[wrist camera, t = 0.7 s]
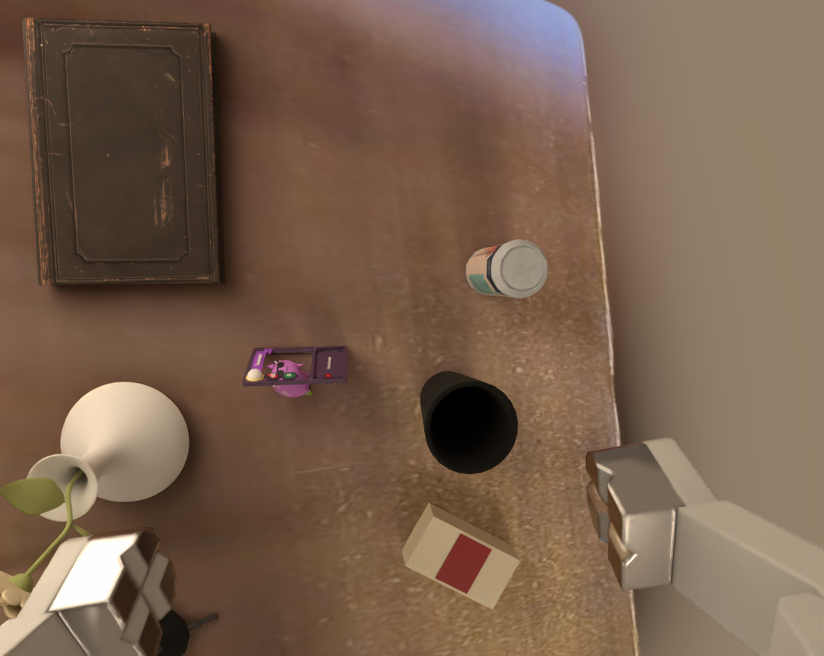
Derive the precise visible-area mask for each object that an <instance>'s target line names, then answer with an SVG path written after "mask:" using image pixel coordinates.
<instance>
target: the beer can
mask: <svg viewBox="0 0 824 656" xmlns="http://www.w3.org/2000/svg"><path fill="white" fill-rule="evenodd" d="M547 274H548V262H547V259H546V256H545V254H544V253H543V251H542V250H541V248H539V247H538V246H537V245H536V244H534V243H532V242H530V241H527V240H523V239H519V240H512V241H510V242H507V243H504V244H501V245H497V246H493V247H486V248H482V249H480V250H478V251H476V252H475V253H474V254H473V255H472V256H471V257H470V258H469V260H468V262H467V265H466V278H467V281H468V283H469V285H470V286H471V287H472V288H473V289H474V290H475V291H476V292H478V293H480V294H483V295H488V296H498V297H509V298H526V297H528V296H531V295H533V294H535V293H536V292H538V291H539V290H540V289H541V287H542V286H543V285H544V283H545V281H546V278H547Z"/></svg>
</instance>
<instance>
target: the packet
mask: <svg viewBox="0 0 824 656" xmlns="http://www.w3.org/2000/svg"><path fill="white" fill-rule="evenodd" d="M402 552H403V557H404V562H405V566H406V567H408V568H410V569H412V570H414V571H416V572H418V573H420V574H422V575H424V576H426V577H428V578H430V579H432V580H434V581H436V582H438V583H440V584H442V585H444V586H446V587H448V588H450V589H452V590H454V591H456V592H458V593H460V594H462V595H464V596H466V597H468V598H470V599H472V600H474V601H476V602H478V603H480V604H482V605H484V606H486V607H488V608H490V609H493V608H494V607H495V605H496V603H497V601H498V600H499V598H500V596H501V594H502V593H503V591H504V589H505V587H506V585H507V584H508V582H509V580H510V578H511V577H512V575H513V573H514V571H515V570H516V568H517V566H518V564H519V563H520V559H519V558H518V556H517V554H516V553H515V551H514V549H513V548H512V546H511V545H510V544H508V543H507V542H505V541H503V540H501V539H499V538H497V537H495V536H493V535H491V534H489V533H487V532H485V531H483V530H481V529H479V528H478V527H476V526H474V525H472V524H470V523H468V522H466V521H464V520H462V519H460V518H458V517H456V516H454V515H452V514H450V513H449V512H447V511H445V510H443V509H441V508H439V507H437V506H435V505H433V504H431V503H428V504H427V506H426V508H425V510H424V511H423V513H422V515H421V517H420V518H419V520H418V522H417V524H416V525H415V527H414V529H413V531H412V532H411V534H410V536H409V538H408V540H407V541H406V543H405V545H404V547H403V548H402Z"/></svg>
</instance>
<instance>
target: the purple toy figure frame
mask: <svg viewBox="0 0 824 656" xmlns="http://www.w3.org/2000/svg"><path fill="white" fill-rule="evenodd" d="M300 352H313V356H312V364H311V373H308V372H307V373H306V372H303V371H302V370H301V369H300V367H301V366H302V365H303V364H296V363H294V362H292V361H289V360H284V361H280V360H279V362H276V361H274V362H275V363H276V364H275V365H274V364H271V365H268V366H266V367H269V368H272V369H273V370H272V372H271V373H269V374H267V375H266V376H264V374H262V366H263V362H264V358H265V355H267V354H270V353H300ZM309 375H310V379H308V376H309ZM263 378H265V380H263V381H260V380H261V379H263ZM346 382H347V347H346V346H332V347H295V348H258V349H253V352H252V355H251V358H250V361H249V364H248V367H247V370H246V373H245V376H244V379H243V386H272V387H273V388H274V389H275V390H276V391H277V392H278V393H279V394H281V395H283V396H286V397H299V396H302V395H304V394H306V395H307V394H308V395H311V394H312V391H311V390H310V389H309V385H310V384H331V383H346Z"/></svg>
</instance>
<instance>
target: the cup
mask: <svg viewBox="0 0 824 656" xmlns="http://www.w3.org/2000/svg"><path fill="white" fill-rule="evenodd" d="M420 402H421V410H422V417H423V424H424V431H425V437H426V441H427V445H428V447H429V449H430V451H431V453H432V455H433V456H434V457H435V458H436V459H437V461H438V462H439V463H441V464H442V465H443V466H445V467H446V468H448V469H450V470H452V471H455V472H458V473H464V474H475V473H482V472H484V471H487V470H490V469H492V468H494V467H495V466H496V465H498V464H499V463H501V462H502V461H503V460H504V459H505V458H506V456H507V455H508V454H509V453H510V451H511V449H512V447H513V446H514V443H515V440H516V436H517V430H518V421H517V416H516V411H515V409H514V407H513V405H512V403H511V401H510V400H509V399H508V397H507V396H506V395H505V394H504V393H503V392H502V391H500V390H499V389H498V388H496V387H495V386H493V385H490V384H487V383H485V382H482V381H479V380H476V379H473V378H470V377H467V376H464V375H461V374H459V373H456V372H449V371H447V372H441V373H438V374H435V375H434V376H432V377H431V378H430V379H429V380H428V381H427V382H426V383H425V385H424V387H423V388H422V392H421V398H420Z"/></svg>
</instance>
